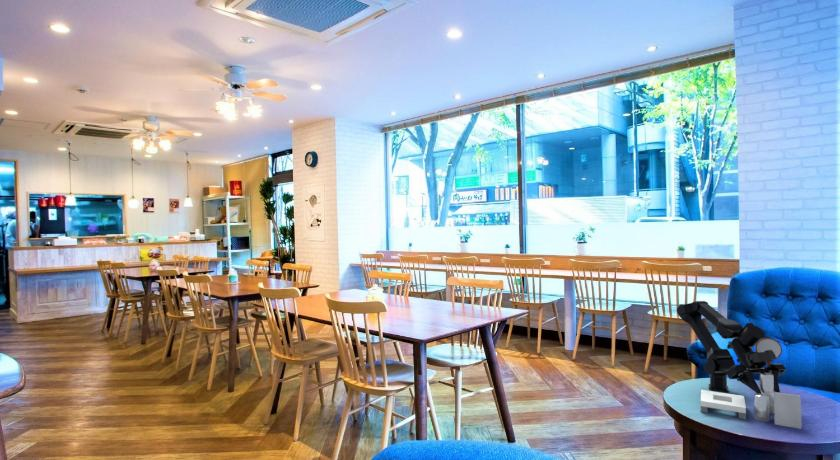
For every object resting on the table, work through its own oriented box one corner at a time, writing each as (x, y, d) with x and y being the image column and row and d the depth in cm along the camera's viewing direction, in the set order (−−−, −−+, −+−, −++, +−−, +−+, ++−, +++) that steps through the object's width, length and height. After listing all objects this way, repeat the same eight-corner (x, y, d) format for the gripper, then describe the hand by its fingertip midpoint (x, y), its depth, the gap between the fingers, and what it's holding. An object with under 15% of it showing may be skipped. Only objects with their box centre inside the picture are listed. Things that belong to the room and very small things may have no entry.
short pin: (754, 416, 160) (753, 392, 160) (768, 418, 158) (768, 394, 158) (755, 420, 157) (754, 396, 157) (770, 422, 155) (769, 398, 155)
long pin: (759, 408, 167) (758, 371, 167) (773, 410, 165) (772, 373, 165) (760, 412, 163) (759, 374, 163) (774, 414, 161) (774, 376, 161)
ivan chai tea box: (801, 429, 150) (801, 397, 150) (774, 424, 153) (774, 393, 153) (800, 425, 153) (799, 394, 153) (774, 420, 157) (773, 390, 156)
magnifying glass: (756, 387, 188) (755, 337, 188) (755, 386, 190) (754, 336, 190) (783, 390, 184) (782, 339, 184) (781, 389, 186) (781, 338, 186)
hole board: (701, 400, 176) (701, 389, 176) (743, 406, 169) (743, 395, 169) (700, 411, 164) (700, 400, 164) (746, 419, 158) (745, 407, 158)
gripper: (732, 342, 167) (756, 383, 156) (781, 340, 169) (809, 381, 158) (716, 358, 175) (739, 399, 164) (764, 357, 176) (789, 397, 165)
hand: (769, 393), depth 163 cm, fingers open, 6 cm apart
